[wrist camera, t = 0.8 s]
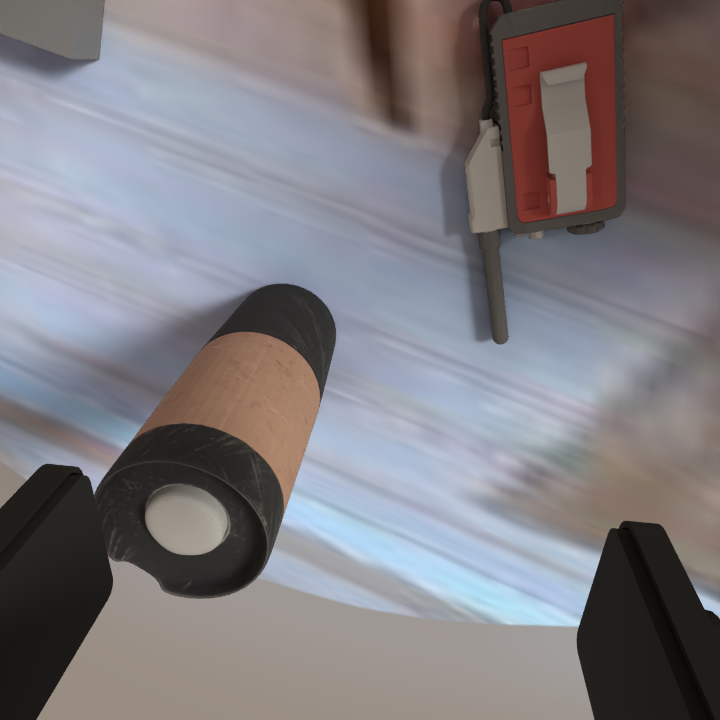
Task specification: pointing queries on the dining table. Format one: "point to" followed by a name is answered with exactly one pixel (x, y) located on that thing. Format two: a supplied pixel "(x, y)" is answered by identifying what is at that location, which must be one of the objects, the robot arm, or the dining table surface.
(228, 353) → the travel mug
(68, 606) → the robot arm
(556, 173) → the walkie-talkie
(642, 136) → the dining table surface
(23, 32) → the panel
